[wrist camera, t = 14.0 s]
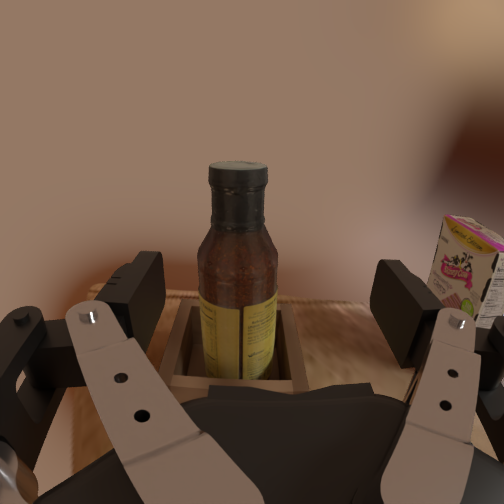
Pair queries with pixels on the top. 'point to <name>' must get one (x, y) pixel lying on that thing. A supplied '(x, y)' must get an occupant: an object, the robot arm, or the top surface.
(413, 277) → the robot arm
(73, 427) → the top surface
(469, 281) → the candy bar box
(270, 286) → the sauce bottle
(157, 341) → the top surface
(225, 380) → the walnut caddy
